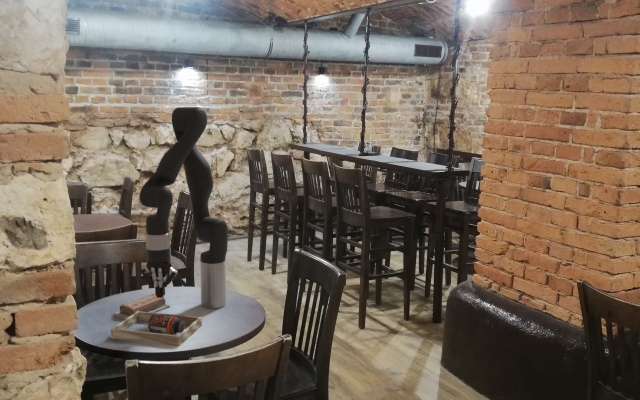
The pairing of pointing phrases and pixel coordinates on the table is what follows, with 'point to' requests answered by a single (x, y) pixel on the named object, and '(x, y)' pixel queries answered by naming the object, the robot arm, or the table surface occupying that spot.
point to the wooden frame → (124, 334)
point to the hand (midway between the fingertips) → (160, 297)
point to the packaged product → (141, 306)
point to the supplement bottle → (165, 324)
